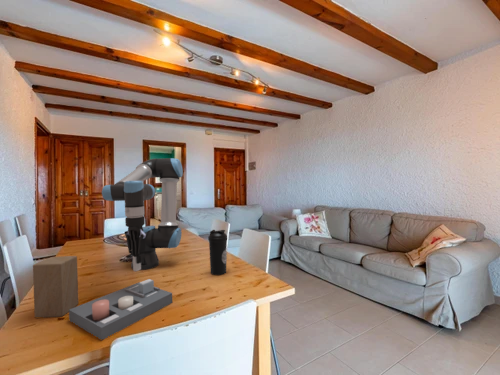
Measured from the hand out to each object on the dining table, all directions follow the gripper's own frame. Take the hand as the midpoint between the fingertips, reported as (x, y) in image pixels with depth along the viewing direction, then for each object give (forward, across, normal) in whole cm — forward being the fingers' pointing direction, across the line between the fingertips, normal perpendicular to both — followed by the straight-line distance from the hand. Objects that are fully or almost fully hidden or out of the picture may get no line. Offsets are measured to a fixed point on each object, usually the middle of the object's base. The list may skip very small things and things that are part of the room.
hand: (137, 270), depth 108 cm
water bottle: (+12, +13, +39) cm, 43 cm away
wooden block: (+11, -16, -24) cm, 31 cm away
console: (+11, +7, -11) cm, 17 cm away
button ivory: (+10, +10, -12) cm, 19 cm away
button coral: (+7, +10, -21) cm, 24 cm away
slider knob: (+7, +8, -2) cm, 11 cm away
